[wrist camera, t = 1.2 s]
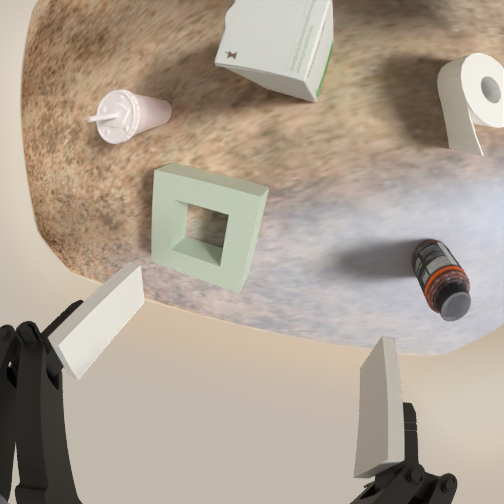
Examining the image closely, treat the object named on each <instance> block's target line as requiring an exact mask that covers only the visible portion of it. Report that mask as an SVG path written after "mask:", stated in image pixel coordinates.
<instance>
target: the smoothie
mask: <svg viewBox="0 0 504 504" xmlns="http://www.w3.org/2000/svg"><path fill="white" fill-rule="evenodd" d="M171 115H172V107H171V105H170V103H169V102H167V101H166V100H162V99H157V98H153V97H148V96H143V95H138V94H133V93H131V92H130V91H128V90H114V91H111V92H109V93H108V94H107V95H105V96H104V98H103V99H102V100H101V102H100V104H99V106H98V109H97V113H96V116H92V117H88V118H87V122H94V121H96V125H97V129H98V132H99V134H100V136H101V137H102V138H103V139H104V140H105V141H106V142H108V143H111V144H117V143H123V142H126V141H127V140H129V139H130V138H131V137H132V136H134V135H136V134H139V133H141V132H144V131H147V130H149V129H152V128H155V127H157V126H160V125H163V124H165V123H167V122H168V121H169V120H170V118H171Z"/></svg>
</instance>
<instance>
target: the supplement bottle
mask: <svg viewBox="0 0 504 504" xmlns="http://www.w3.org/2000/svg"><path fill="white" fill-rule="evenodd" d="M412 266H413V269H414V272H415V274H416V277H417V279H418V281H419V284H420V286H421V288H422V291H423V293H424V296H425V298H426V301H427V303H428V305H429V307H430V308H431V309H432V310H433V311H435V312H437V313H440V314H441V317H442V318H443V319H444V320H446V321H455V320H458V319H460V318H462V317H463V316H464V315H465V314H466V313H467V312H468V310H469V308H470V305H471V298H470V295H469V290H470V283H469V279H468V277H467V275H466V274H465V272H464V270H463V269H462V268H461V266H460V265H459V263H458V262H457V260H456V259H455V258H454V256H453V255H452V254H451V252H450V251H449V249H448V248H447V247H446V246H445V245H444V244H443V243H442V242H440V241H438V240H429V241H426V242H424V243H422V244H421V245H420V246H419V247H418V248H417V249H416V251H415V252H414V255H413V258H412Z"/></svg>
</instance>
